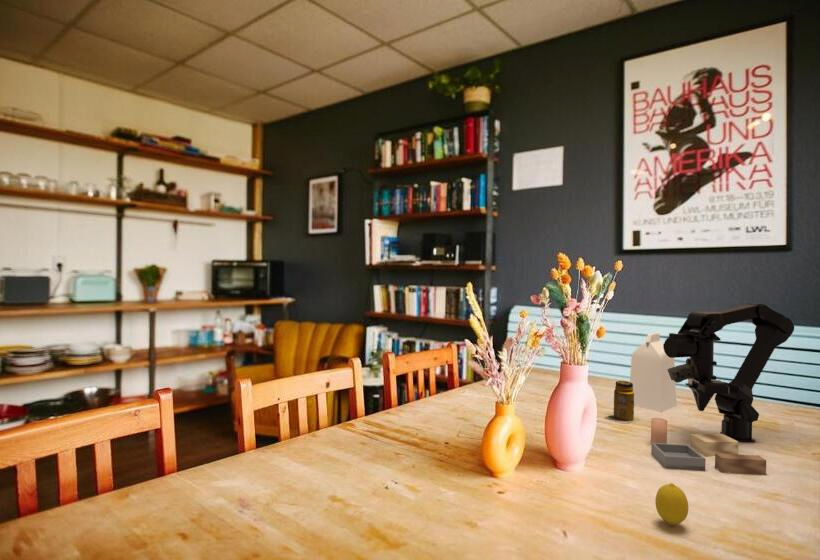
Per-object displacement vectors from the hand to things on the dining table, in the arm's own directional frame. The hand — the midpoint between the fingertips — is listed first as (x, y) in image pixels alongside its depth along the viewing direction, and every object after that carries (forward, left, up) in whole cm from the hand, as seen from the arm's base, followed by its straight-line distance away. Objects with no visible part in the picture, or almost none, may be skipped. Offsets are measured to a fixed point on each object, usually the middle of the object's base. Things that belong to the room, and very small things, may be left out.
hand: (700, 410), depth 136 cm
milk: (0, -36, -9) cm, 37 cm away
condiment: (+16, -18, -9) cm, 26 cm away
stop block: (0, +21, -9) cm, 22 cm away
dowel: (+13, +5, -9) cm, 17 cm away
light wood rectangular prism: (0, +8, -9) cm, 12 cm away
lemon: (+27, +49, -9) cm, 57 cm away
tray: (+13, +17, -9) cm, 23 cm away
